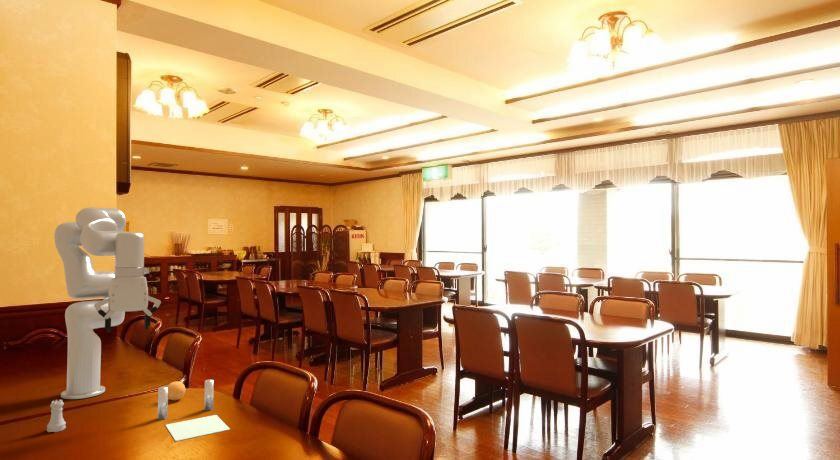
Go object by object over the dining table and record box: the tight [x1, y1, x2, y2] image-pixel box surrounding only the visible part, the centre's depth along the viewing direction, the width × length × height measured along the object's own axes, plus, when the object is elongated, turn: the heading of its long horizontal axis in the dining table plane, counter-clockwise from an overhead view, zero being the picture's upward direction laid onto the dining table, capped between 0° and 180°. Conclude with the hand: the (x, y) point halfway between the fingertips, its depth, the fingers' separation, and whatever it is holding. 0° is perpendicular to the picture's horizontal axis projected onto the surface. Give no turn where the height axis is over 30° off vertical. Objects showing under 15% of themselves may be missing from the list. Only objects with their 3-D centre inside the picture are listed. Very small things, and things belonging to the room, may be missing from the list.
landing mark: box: [164, 414, 231, 442], centre depth 140 cm, size 14×14×1 cm
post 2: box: [203, 378, 215, 412], centre depth 156 cm, size 3×3×9 cm
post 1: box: [157, 386, 169, 420], centre depth 148 cm, size 3×3×9 cm
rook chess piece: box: [46, 399, 67, 433], centre depth 138 cm, size 4×4×8 cm
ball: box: [166, 381, 186, 401], centre depth 164 cm, size 6×6×6 cm
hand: (127, 330), depth 148 cm, fingers open, 9 cm apart
